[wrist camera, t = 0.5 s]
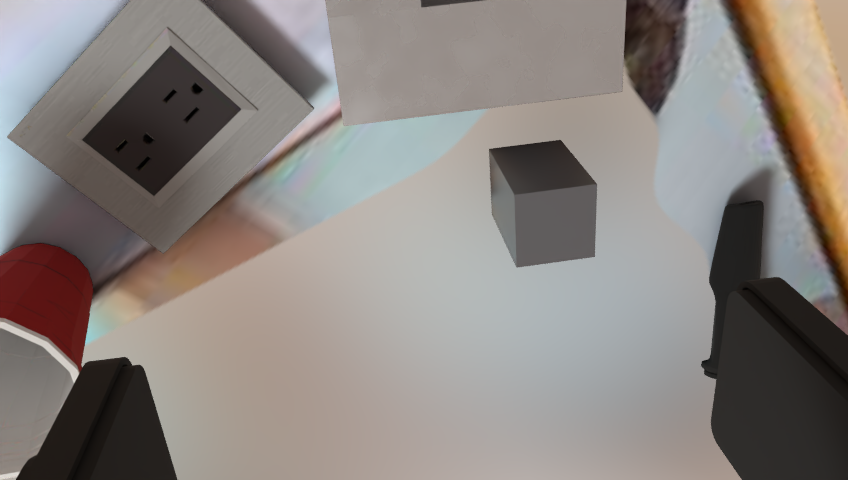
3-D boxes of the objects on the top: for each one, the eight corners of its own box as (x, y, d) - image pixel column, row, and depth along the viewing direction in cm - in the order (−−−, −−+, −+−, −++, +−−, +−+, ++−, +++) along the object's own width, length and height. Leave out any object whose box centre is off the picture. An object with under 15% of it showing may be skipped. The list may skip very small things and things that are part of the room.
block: (488, 149, 45) (514, 194, 39) (560, 139, 46) (596, 184, 39) (491, 214, 48) (516, 267, 41) (560, 205, 48) (594, 256, 42)
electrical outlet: (170, -41, 38) (161, -35, 36) (314, 98, 43) (313, 110, 41) (21, 124, 42) (5, 139, 39) (169, 237, 46) (162, 255, 44)
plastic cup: (105, 373, 50) (46, 512, 39) (-65, 317, 46) (-180, 453, 36) (164, 249, 46) (116, 366, 35) (-17, 177, 42) (-130, 283, 32)
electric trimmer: (762, 181, 49) (788, 200, 47) (743, 362, 57) (764, 388, 54) (708, 190, 49) (731, 210, 46) (696, 370, 57) (715, 397, 54)
